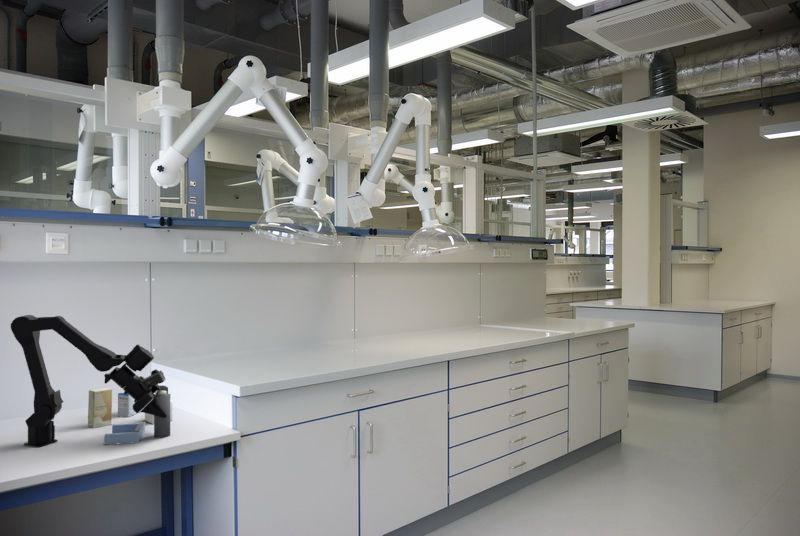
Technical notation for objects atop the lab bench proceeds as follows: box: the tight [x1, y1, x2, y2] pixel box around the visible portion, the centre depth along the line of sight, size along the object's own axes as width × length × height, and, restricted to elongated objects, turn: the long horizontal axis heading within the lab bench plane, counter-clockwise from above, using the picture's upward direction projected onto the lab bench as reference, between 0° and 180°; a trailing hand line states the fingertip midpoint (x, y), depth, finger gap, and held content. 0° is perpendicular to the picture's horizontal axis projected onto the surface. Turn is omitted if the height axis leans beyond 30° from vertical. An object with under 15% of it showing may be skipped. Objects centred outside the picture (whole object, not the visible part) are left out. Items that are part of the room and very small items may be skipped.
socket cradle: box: [103, 422, 146, 445], centre depth 186 cm, size 10×12×3 cm
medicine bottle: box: [144, 385, 174, 425], centre depth 207 cm, size 7×7×12 cm
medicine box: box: [117, 390, 141, 418], centre depth 216 cm, size 8×4×9 cm, turn 172°
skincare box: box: [87, 387, 113, 429], centre depth 201 cm, size 6×4×12 cm
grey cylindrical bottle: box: [153, 391, 171, 439], centre depth 189 cm, size 5×5×14 cm
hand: (166, 414), depth 189 cm, fingers open, 5 cm apart
